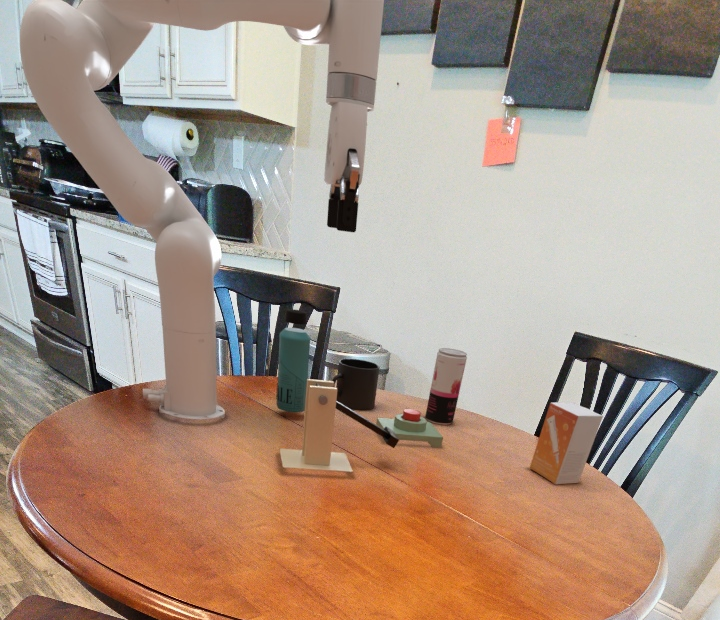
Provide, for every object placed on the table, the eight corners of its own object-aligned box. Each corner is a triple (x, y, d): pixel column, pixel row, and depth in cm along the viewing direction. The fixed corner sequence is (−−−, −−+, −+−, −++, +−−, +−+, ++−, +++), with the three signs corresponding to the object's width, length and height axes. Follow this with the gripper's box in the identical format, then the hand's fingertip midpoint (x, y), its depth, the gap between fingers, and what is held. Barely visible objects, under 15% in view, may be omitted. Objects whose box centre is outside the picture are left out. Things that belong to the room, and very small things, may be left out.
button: (404, 422, 120) (405, 413, 119) (400, 416, 123) (401, 408, 122) (421, 423, 121) (422, 415, 120) (416, 418, 123) (418, 409, 122)
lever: (386, 440, 105) (394, 428, 104) (392, 450, 101) (400, 438, 100) (308, 393, 98) (315, 380, 97) (311, 401, 94) (319, 388, 93)
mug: (317, 400, 138) (321, 359, 132) (358, 397, 144) (363, 358, 139) (341, 412, 132) (345, 369, 127) (382, 409, 139) (388, 368, 133)
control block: (385, 443, 119) (388, 423, 116) (375, 427, 126) (378, 408, 124) (441, 447, 121) (445, 428, 119) (428, 432, 129) (432, 413, 127)
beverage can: (455, 426, 135) (471, 356, 126) (428, 424, 134) (442, 353, 125) (448, 418, 140) (462, 349, 131) (422, 415, 139) (435, 346, 130)
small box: (528, 468, 118) (549, 401, 110) (552, 467, 120) (574, 402, 112) (554, 485, 112) (578, 415, 104) (579, 483, 115) (604, 415, 107)
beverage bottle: (308, 413, 128) (315, 310, 116) (302, 422, 123) (310, 315, 111) (278, 408, 128) (283, 305, 116) (272, 417, 123) (276, 309, 111)
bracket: (344, 459, 108) (353, 380, 100) (352, 478, 101) (362, 394, 93) (279, 454, 106) (283, 373, 97) (282, 474, 99) (287, 387, 90)
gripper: (318, 97, 96) (312, 224, 106) (336, 82, 83) (327, 229, 93) (363, 105, 98) (352, 229, 108) (387, 92, 84) (373, 235, 94)
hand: (340, 229), depth 100 cm, fingers open, 9 cm apart
